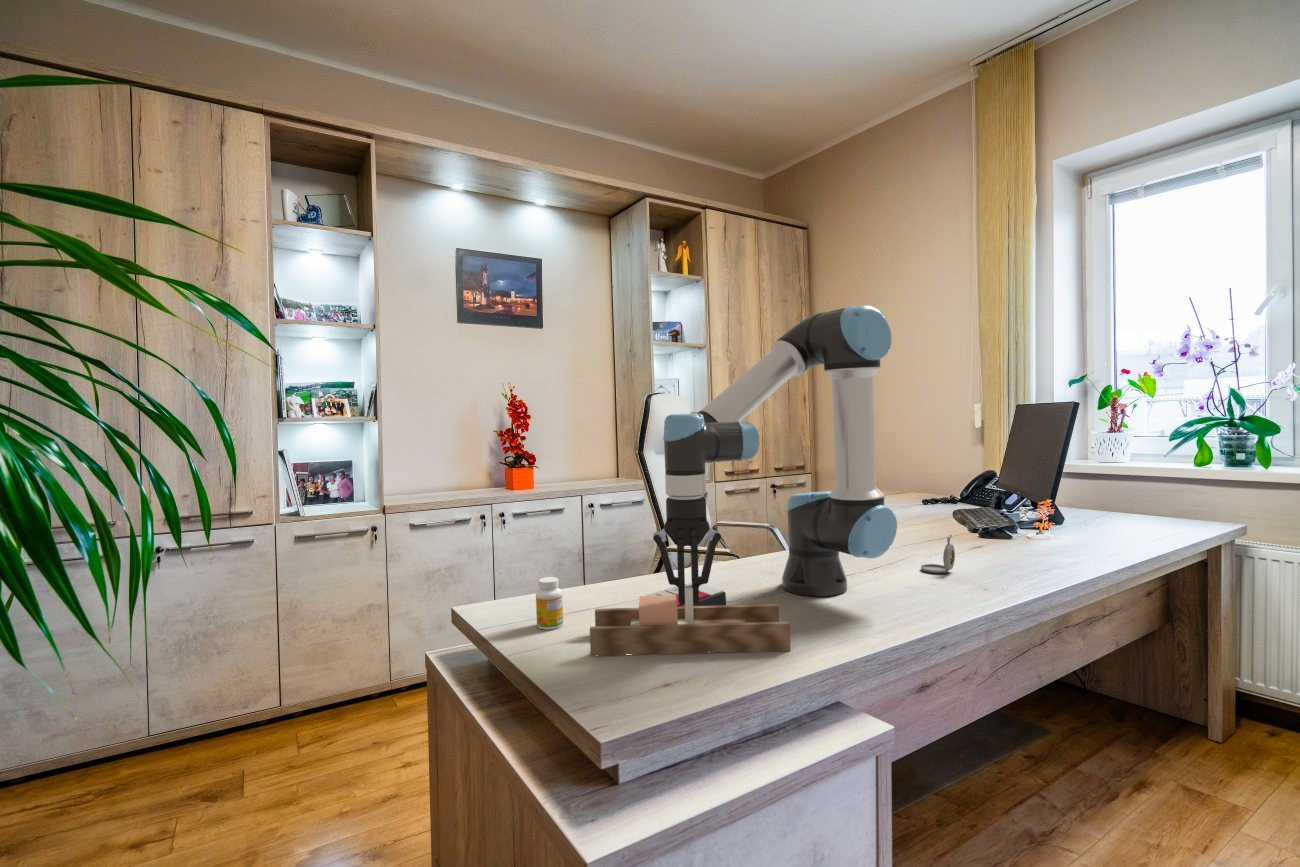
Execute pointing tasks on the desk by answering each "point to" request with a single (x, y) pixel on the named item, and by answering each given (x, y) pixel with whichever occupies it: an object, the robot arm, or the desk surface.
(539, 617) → the supplement bottle
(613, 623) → the trap channel
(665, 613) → the block
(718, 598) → the calculator
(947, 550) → the pocket watch
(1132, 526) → the desk surface
